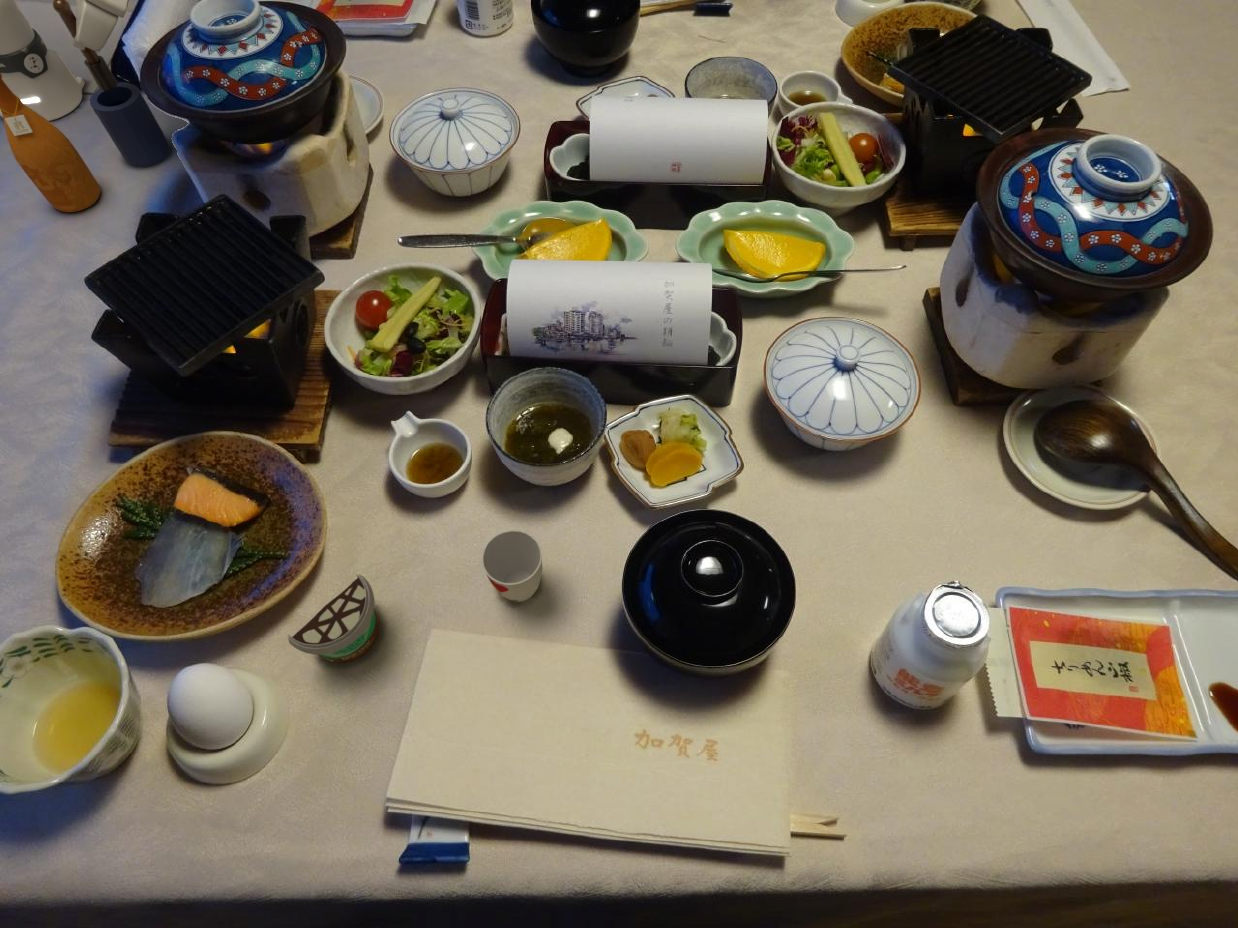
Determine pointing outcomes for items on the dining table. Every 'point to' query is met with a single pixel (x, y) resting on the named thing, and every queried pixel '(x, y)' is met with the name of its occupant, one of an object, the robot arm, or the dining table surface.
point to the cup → (513, 564)
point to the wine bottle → (47, 156)
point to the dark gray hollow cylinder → (131, 125)
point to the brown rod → (87, 49)
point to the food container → (342, 626)
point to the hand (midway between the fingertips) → (78, 41)
